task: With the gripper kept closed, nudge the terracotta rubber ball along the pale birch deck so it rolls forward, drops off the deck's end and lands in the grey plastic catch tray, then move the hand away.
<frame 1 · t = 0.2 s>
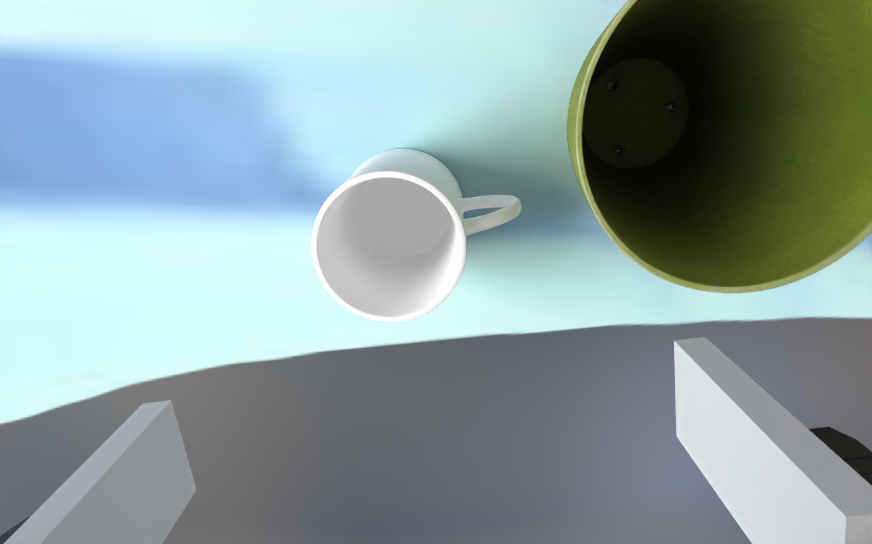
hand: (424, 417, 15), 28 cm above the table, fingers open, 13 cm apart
flower pot: (634, 116, 40), on the table
mug: (426, 206, 42), on the table
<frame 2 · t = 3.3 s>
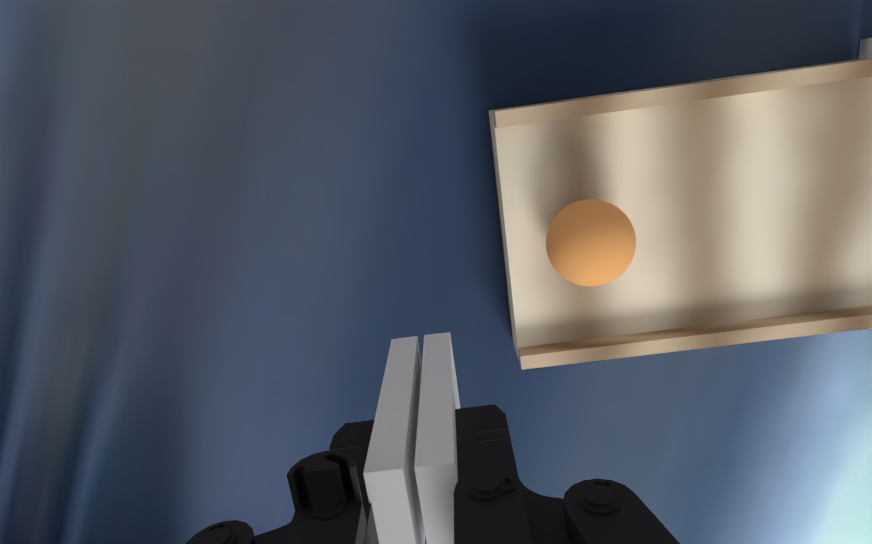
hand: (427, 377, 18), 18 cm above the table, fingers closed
ball: (590, 242, 30), point 5 cm above the table, touching deck
deck: (671, 209, 35), on the table
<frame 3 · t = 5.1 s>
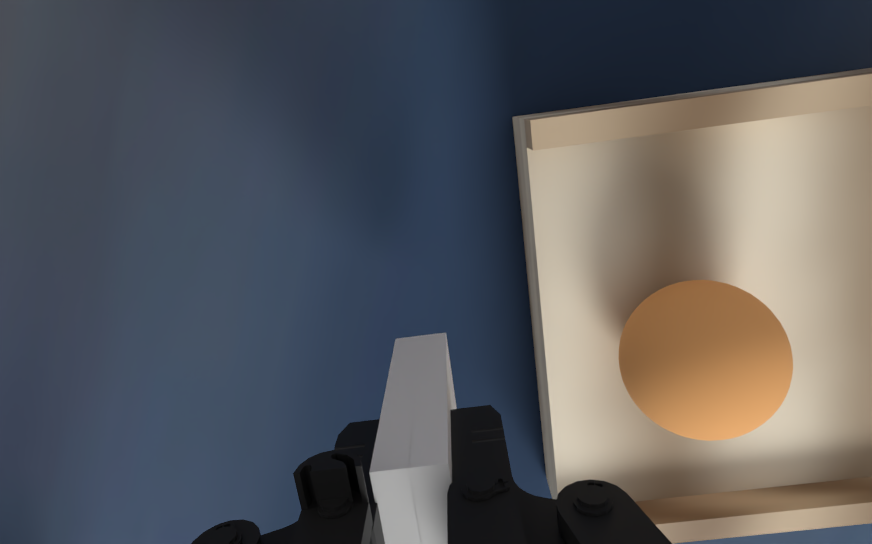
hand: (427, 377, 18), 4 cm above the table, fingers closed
ball: (700, 358, 16), point 5 cm above the table, touching deck
deck: (809, 278, 21), on the table
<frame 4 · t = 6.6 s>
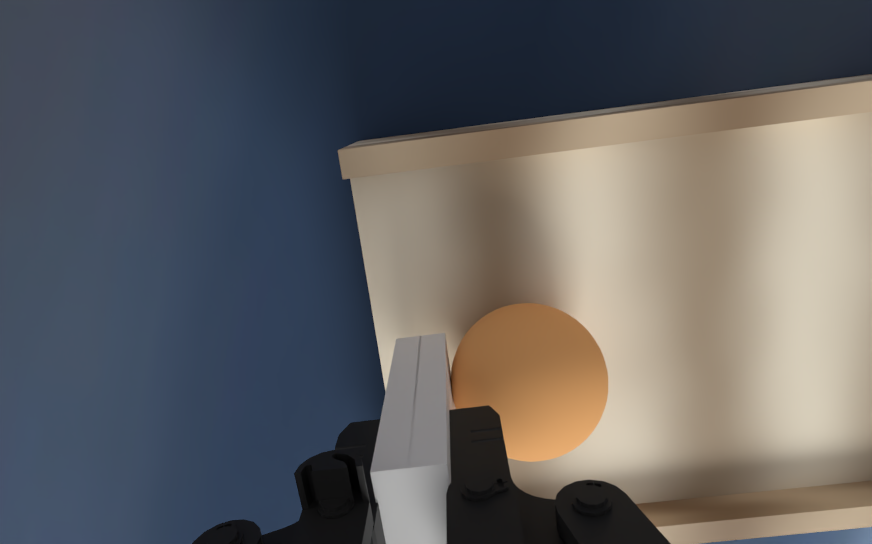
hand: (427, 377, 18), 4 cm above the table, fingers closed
ball: (527, 380, 17), point 5 cm above the table, tilted 11°, touching deck, gripper
deck: (660, 300, 22), on the table
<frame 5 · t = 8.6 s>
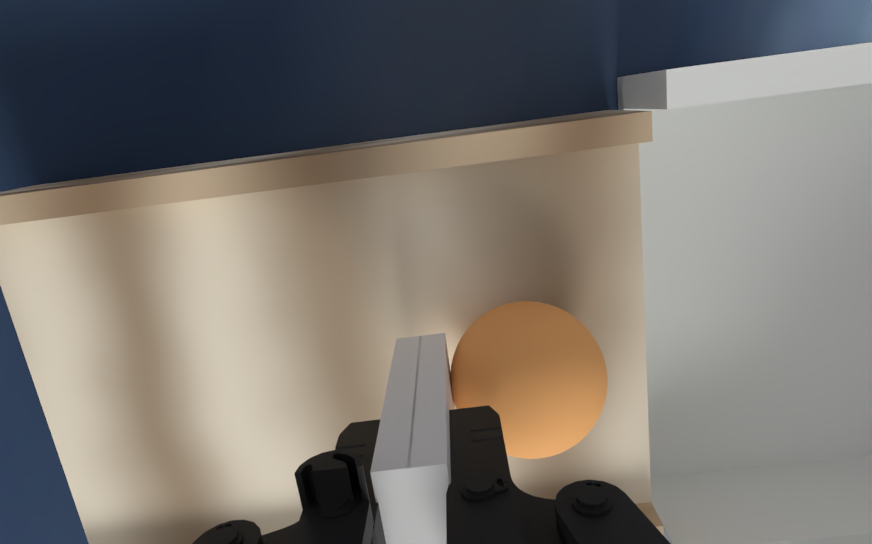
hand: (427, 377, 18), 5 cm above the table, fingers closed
ball: (527, 378, 17), point 5 cm above the table, tilted 91°, touching deck, gripper
deck: (350, 337, 22), on the table
tray: (807, 283, 21), on the table
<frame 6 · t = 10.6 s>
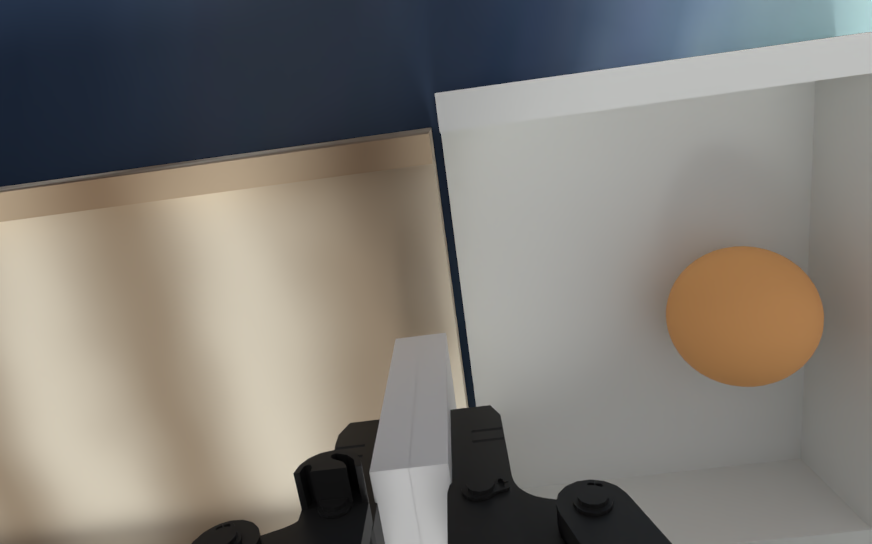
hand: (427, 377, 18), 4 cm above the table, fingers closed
ball: (740, 315, 19), point 3 cm above the table, tilted 96°, touching tray
deck: (193, 353, 22), on the table
tray: (643, 298, 21), on the table
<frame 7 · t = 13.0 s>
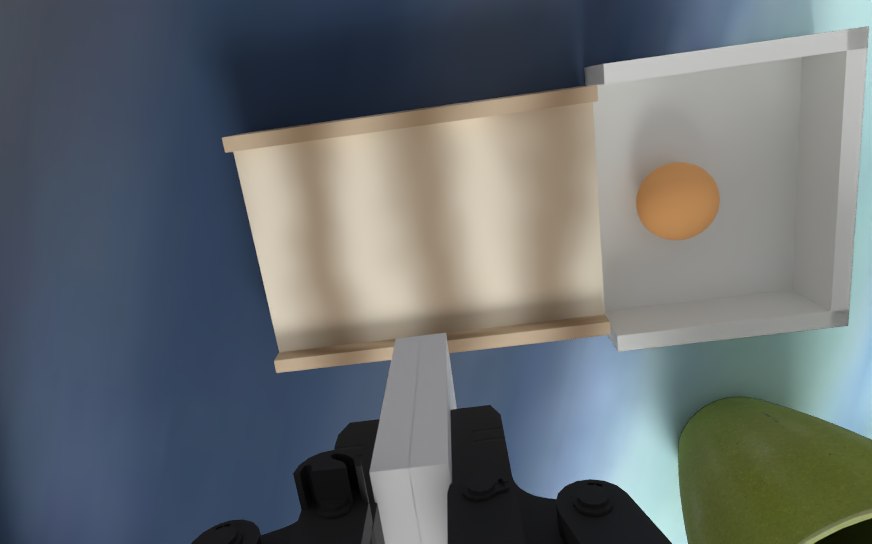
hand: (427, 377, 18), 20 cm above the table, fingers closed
ball: (676, 201, 34), point 3 cm above the table, tilted 147°, touching tray
deck: (427, 224, 37), on the table
flower pot: (731, 439, 41), on the table
tray: (699, 189, 36), on the table
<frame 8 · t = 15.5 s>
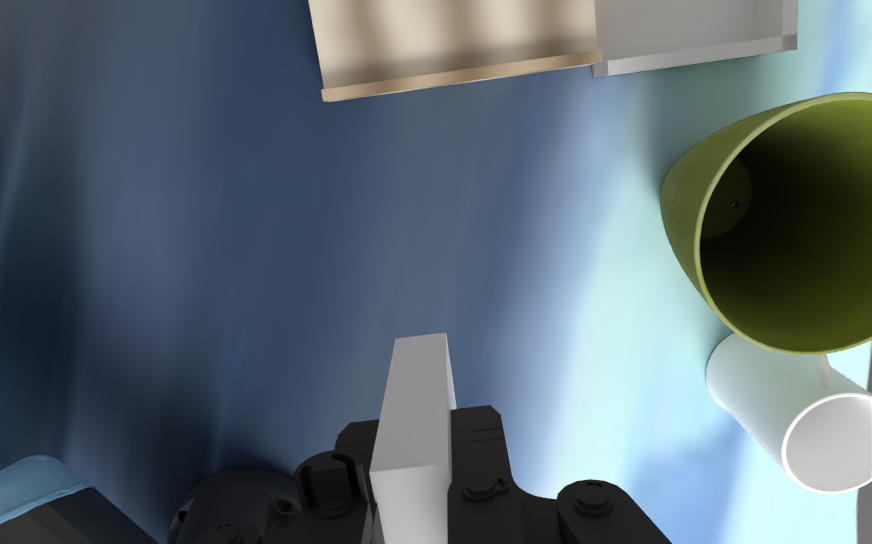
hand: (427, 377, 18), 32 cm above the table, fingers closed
flower pot: (706, 190, 48), on the table
mug: (753, 352, 52), on the table
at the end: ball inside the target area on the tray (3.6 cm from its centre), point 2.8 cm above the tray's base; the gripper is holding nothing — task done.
